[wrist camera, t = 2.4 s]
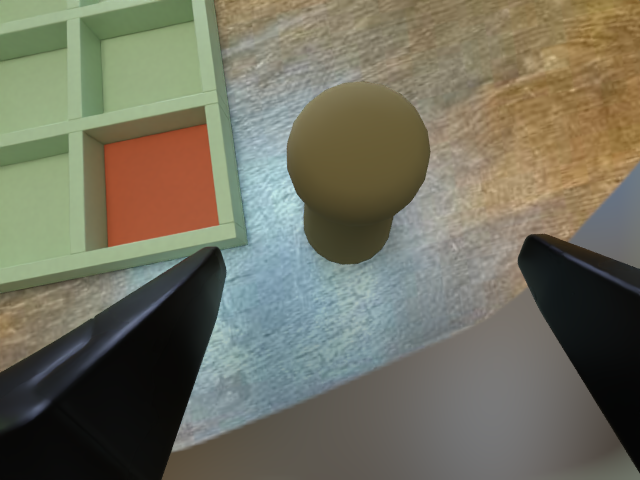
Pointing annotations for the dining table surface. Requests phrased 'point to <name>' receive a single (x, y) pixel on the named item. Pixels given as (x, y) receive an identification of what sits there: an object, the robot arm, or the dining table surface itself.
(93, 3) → the grid
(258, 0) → the dining table surface
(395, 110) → the cork
